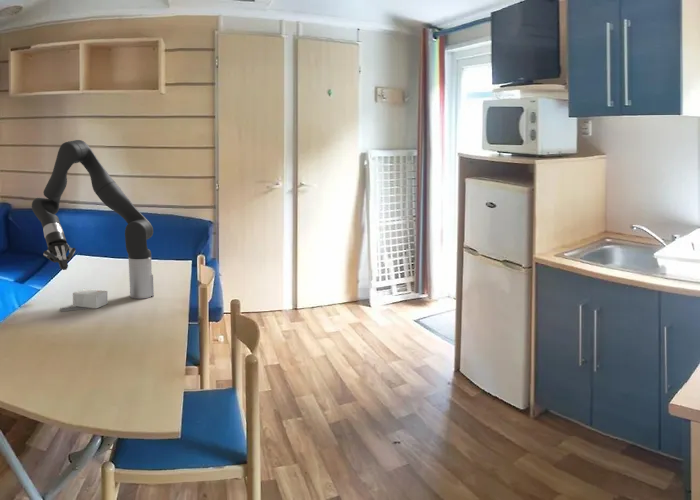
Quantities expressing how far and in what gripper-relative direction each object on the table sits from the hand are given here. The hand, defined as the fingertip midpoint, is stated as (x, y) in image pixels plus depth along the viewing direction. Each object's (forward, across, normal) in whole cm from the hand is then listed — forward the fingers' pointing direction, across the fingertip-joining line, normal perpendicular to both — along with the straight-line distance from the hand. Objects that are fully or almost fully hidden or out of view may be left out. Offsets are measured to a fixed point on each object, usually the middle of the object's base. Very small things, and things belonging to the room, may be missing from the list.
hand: (64, 268), depth 237 cm
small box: (+15, +1, -1) cm, 15 cm away
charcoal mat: (+21, -1, -2) cm, 21 cm away
